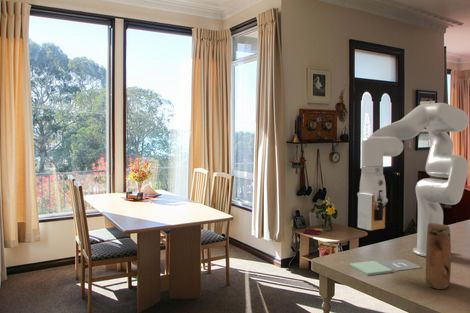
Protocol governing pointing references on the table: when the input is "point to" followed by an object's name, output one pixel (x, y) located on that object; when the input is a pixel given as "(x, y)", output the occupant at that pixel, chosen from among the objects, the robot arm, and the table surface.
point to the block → (438, 256)
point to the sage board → (371, 268)
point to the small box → (368, 213)
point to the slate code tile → (399, 265)
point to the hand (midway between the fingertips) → (371, 217)
